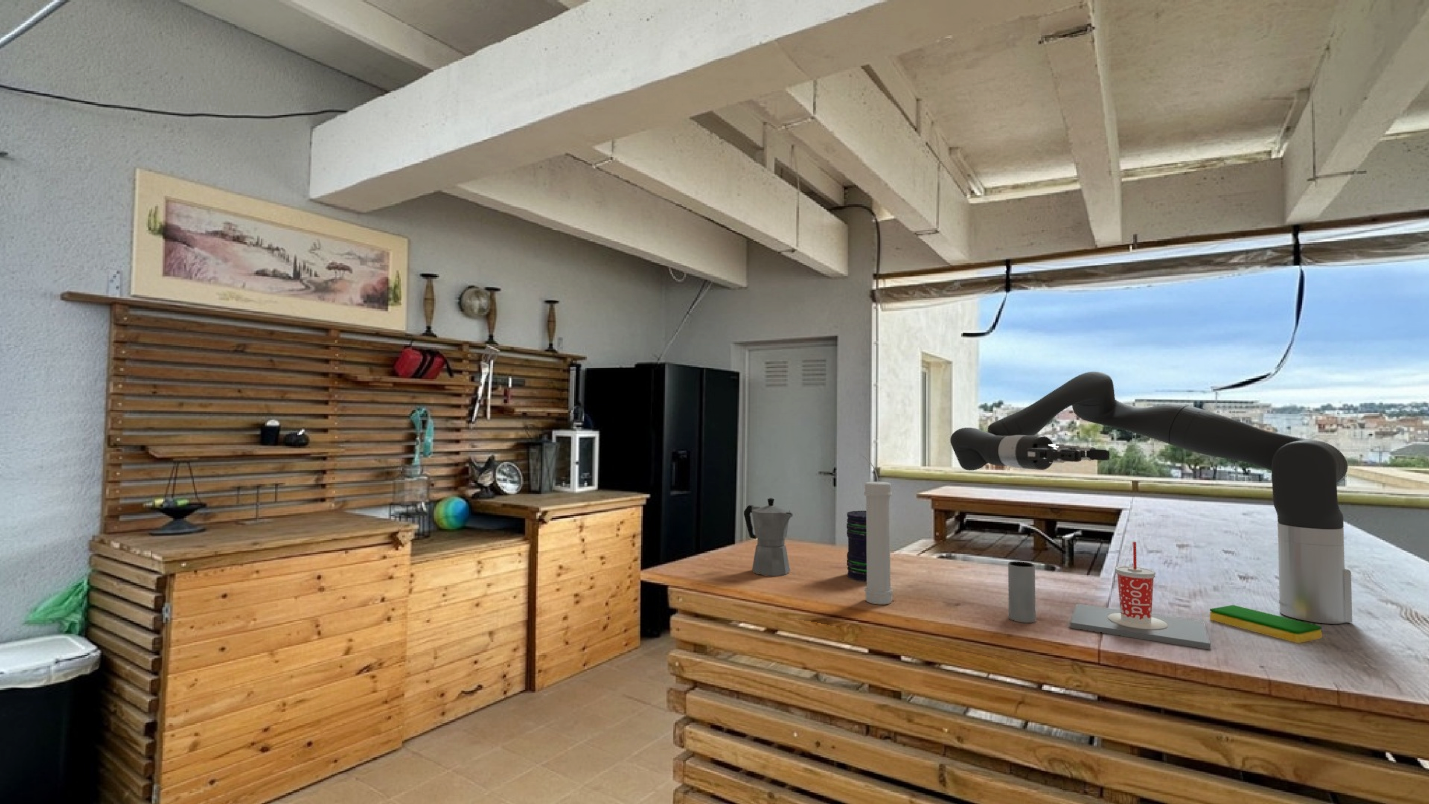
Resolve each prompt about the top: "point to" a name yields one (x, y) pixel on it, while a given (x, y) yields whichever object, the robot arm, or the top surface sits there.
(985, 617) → the top surface
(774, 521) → the coffeepot
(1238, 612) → the dish sponge
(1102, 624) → the slate board
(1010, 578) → the gray cylinder
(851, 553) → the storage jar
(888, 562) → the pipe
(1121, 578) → the beverage cup
